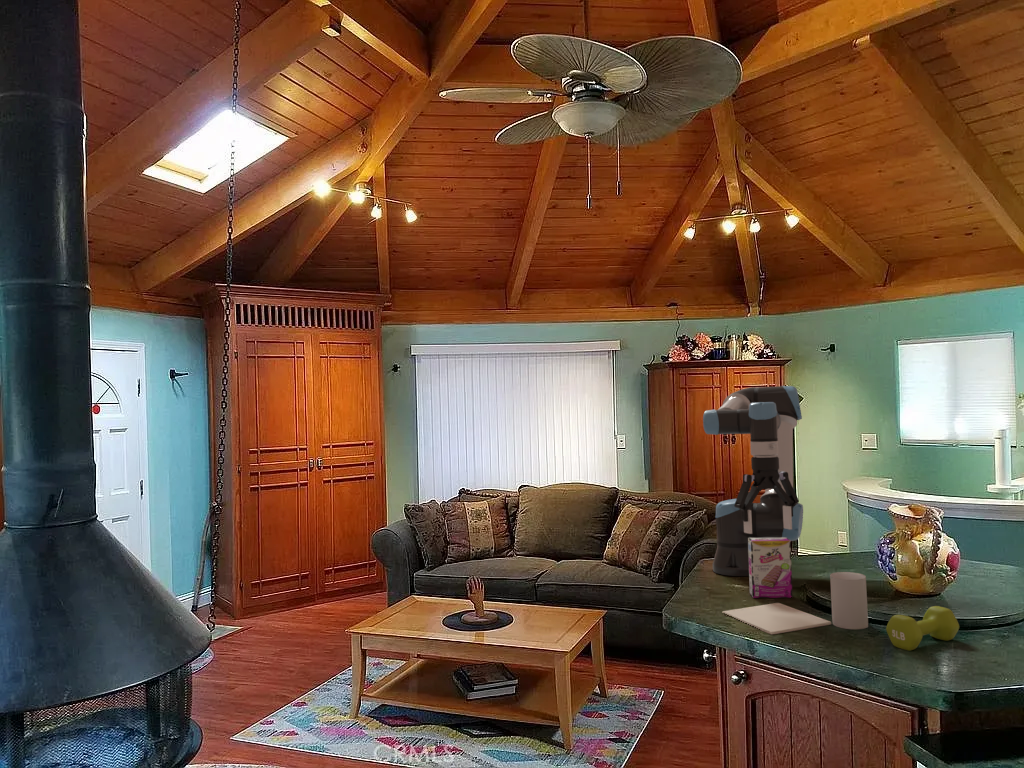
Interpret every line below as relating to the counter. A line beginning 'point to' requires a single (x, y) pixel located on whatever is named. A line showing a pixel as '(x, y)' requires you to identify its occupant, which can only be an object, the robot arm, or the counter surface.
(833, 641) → the counter surface
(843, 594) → the cup
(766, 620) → the mat
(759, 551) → the candy bar box
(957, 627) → the dumbbell
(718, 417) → the robot arm
